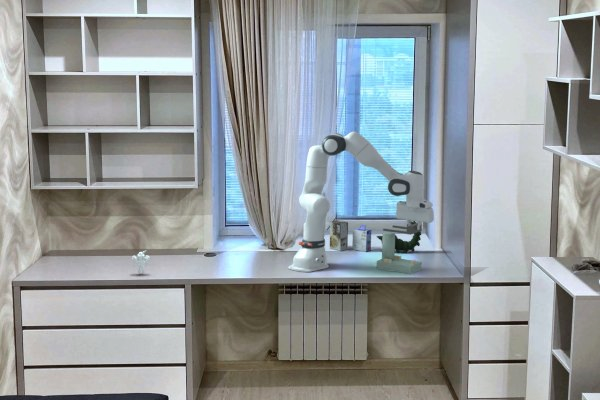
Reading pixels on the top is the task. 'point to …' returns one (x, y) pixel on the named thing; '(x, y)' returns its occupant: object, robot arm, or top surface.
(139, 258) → the hat wearing toy figure
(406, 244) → the toy figurine
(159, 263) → the top surface
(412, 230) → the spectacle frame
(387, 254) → the flanged cylinder mount
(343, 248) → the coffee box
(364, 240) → the ink cartridge box
